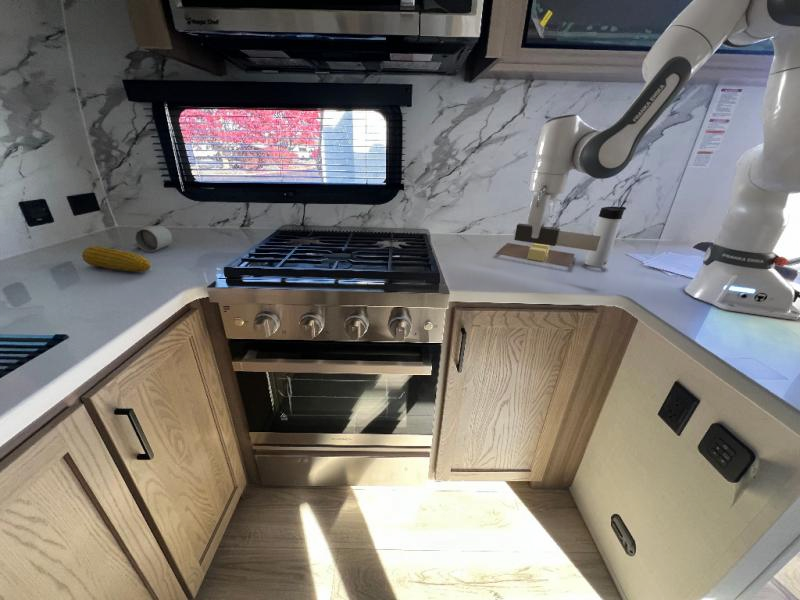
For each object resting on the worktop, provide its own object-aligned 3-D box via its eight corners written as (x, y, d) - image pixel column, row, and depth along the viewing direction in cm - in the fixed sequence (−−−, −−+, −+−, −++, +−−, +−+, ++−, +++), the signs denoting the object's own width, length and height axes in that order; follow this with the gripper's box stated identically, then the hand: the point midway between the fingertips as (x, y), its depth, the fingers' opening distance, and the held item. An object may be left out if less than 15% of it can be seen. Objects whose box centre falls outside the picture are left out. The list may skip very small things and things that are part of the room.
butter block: (548, 251, 120) (550, 242, 118) (545, 256, 114) (548, 246, 113) (534, 248, 122) (536, 239, 121) (530, 253, 117) (532, 244, 115)
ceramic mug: (176, 245, 116) (170, 223, 113) (161, 252, 109) (153, 229, 105) (147, 244, 116) (140, 222, 113) (129, 251, 109) (121, 228, 105)
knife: (596, 249, 88) (601, 233, 86) (596, 252, 86) (601, 235, 84) (516, 238, 97) (518, 223, 96) (514, 240, 95) (516, 224, 94)
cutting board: (573, 257, 119) (574, 253, 118) (569, 271, 105) (570, 267, 105) (506, 246, 129) (507, 242, 129) (494, 257, 116) (495, 253, 115)
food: (82, 268, 94) (74, 248, 91) (102, 262, 99) (95, 243, 96) (143, 276, 90) (137, 255, 88) (161, 269, 95) (155, 249, 93)
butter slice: (544, 259, 111) (546, 249, 110) (543, 261, 109) (545, 251, 108) (528, 256, 114) (530, 246, 112) (527, 258, 111) (529, 248, 110)
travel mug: (609, 272, 106) (630, 208, 97) (587, 270, 107) (605, 207, 99) (602, 266, 112) (621, 205, 103) (581, 264, 113) (598, 204, 104)
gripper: (554, 189, 78) (541, 246, 84) (564, 182, 94) (553, 231, 100) (527, 187, 81) (516, 242, 87) (541, 180, 97) (531, 227, 103)
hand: (536, 236), depth 93 cm, fingers closed on knife, 2 cm apart
